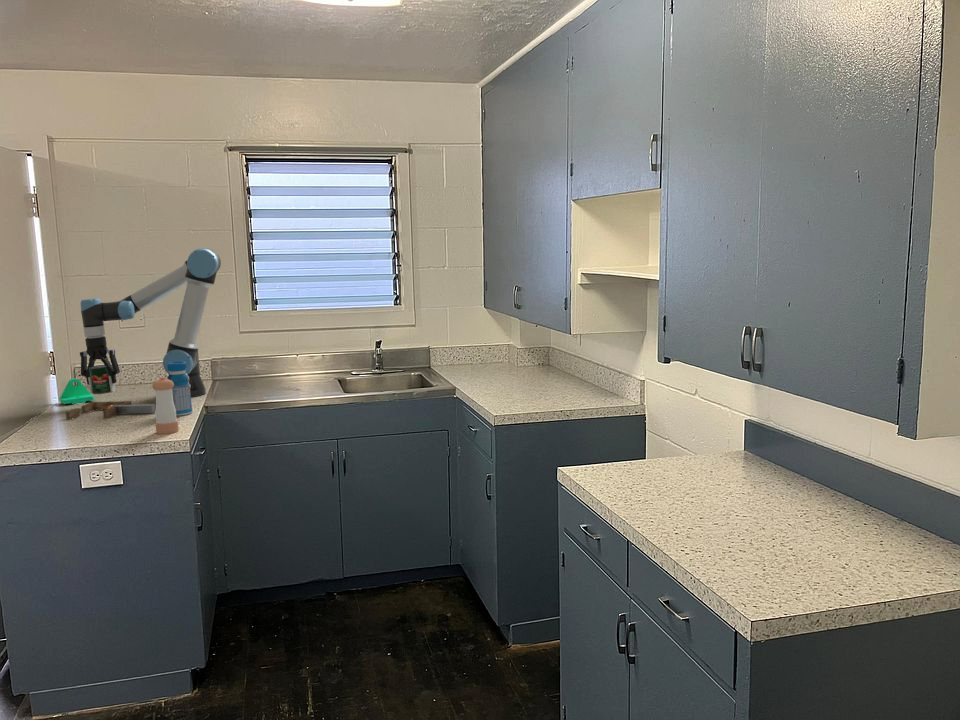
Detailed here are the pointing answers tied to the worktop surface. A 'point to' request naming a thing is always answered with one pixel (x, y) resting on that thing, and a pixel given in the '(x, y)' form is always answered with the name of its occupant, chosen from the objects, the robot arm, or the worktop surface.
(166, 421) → the pepper shaker
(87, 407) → the frame
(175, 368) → the beverage bottle
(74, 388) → the camera mount
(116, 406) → the bar
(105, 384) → the canned tomato
